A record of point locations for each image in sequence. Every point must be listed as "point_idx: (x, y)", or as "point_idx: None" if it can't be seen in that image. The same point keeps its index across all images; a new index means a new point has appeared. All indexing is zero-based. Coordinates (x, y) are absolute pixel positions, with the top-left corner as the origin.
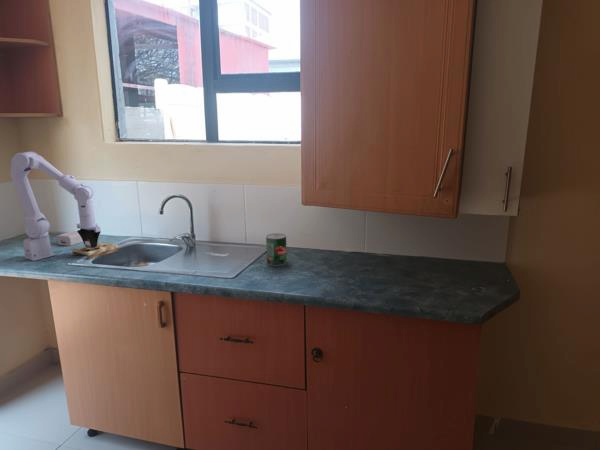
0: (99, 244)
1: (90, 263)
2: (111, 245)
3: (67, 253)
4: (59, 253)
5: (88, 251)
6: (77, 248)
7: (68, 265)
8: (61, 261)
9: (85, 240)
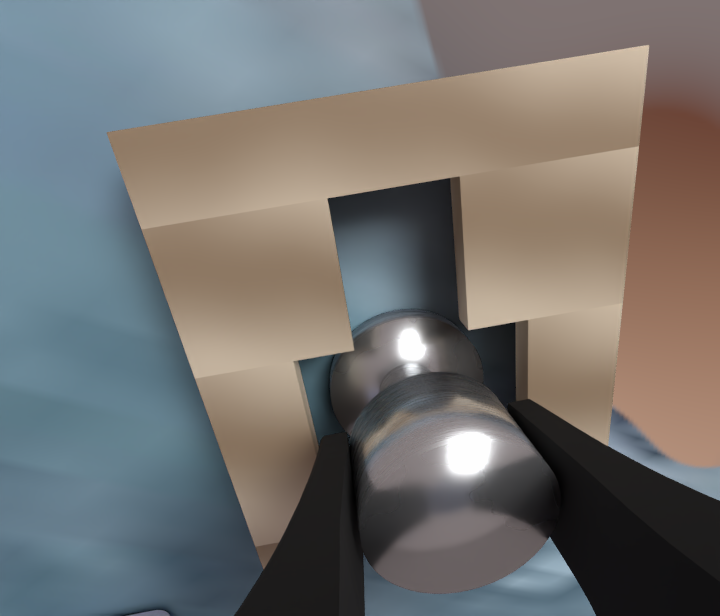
0: (274, 250)
1: (688, 483)
2: (523, 131)
3: (161, 530)
4: (101, 575)
5: (357, 411)
6: (260, 524)
7: (564, 595)
8: (407, 607)
9: (398, 580)
